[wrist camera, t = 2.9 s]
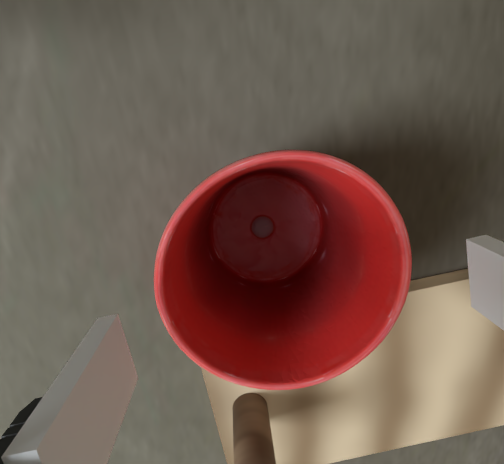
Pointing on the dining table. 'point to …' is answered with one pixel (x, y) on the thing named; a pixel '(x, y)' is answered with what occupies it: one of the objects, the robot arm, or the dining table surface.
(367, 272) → the flower pot
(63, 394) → the robot arm
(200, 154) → the dining table surface
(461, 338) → the rack
